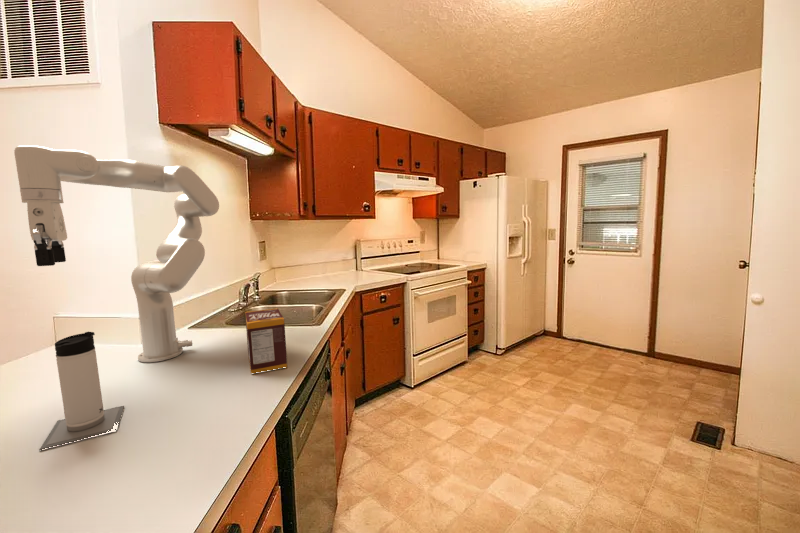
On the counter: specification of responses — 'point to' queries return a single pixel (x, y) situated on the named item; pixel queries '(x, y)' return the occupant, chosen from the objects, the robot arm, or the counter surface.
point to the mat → (63, 436)
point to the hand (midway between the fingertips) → (52, 263)
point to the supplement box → (266, 340)
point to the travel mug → (79, 381)
